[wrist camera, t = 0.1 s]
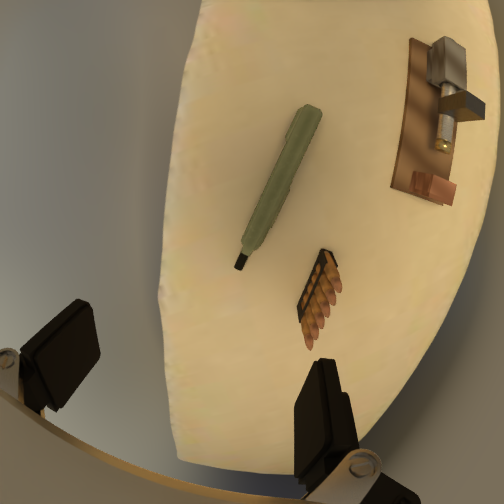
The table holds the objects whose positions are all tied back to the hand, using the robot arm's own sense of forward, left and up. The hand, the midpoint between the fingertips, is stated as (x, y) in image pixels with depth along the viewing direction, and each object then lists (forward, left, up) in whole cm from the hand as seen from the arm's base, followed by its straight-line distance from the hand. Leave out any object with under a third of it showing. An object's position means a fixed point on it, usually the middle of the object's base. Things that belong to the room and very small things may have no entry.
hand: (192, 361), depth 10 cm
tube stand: (-21, +24, -31) cm, 45 cm away
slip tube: (-25, +24, -27) cm, 44 cm away
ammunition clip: (+9, +11, -31) cm, 34 cm away
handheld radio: (-3, +2, -32) cm, 32 cm away
